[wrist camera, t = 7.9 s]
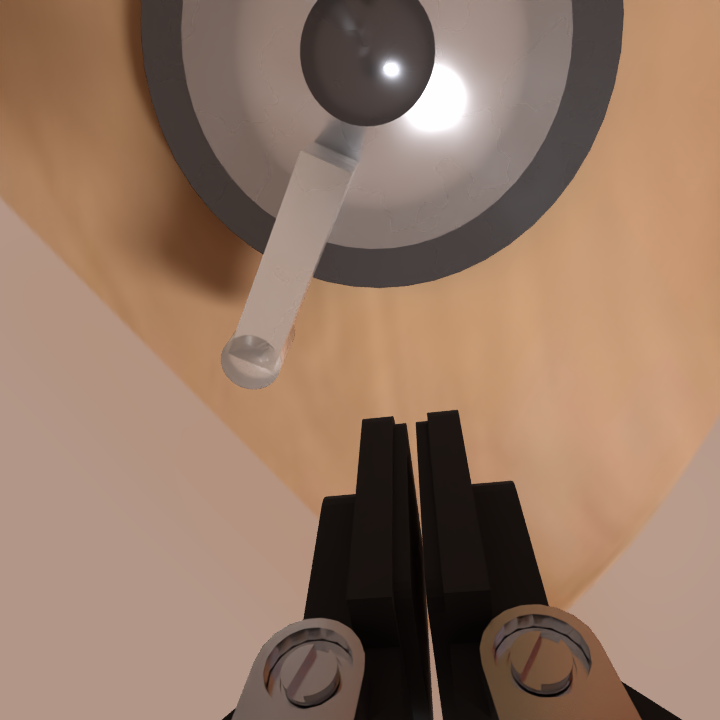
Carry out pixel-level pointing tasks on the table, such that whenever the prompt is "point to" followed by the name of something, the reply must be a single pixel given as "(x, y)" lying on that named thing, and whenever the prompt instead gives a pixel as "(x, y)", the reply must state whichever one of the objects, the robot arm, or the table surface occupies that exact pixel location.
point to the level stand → (432, 257)
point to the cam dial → (365, 127)
